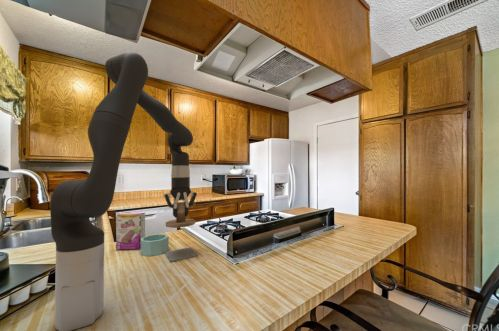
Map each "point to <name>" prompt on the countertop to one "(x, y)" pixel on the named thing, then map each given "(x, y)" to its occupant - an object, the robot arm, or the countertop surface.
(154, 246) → the bowl
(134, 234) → the candy bar box
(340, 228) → the countertop surface
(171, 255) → the mat
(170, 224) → the lid
